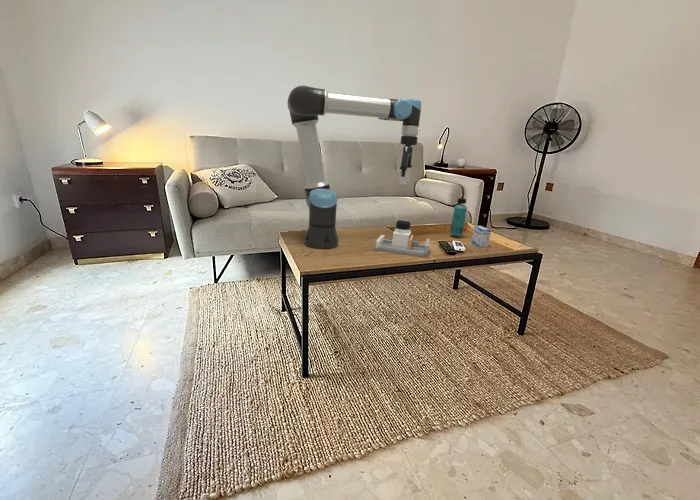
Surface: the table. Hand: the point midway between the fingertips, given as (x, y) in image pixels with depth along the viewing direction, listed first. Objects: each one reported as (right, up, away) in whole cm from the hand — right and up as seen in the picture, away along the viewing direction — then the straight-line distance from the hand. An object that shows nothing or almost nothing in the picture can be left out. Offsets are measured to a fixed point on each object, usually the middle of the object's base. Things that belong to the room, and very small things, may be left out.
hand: (404, 182), depth 165 cm
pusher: (+2, -32, -15) cm, 35 cm away
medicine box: (+37, -30, +3) cm, 48 cm away
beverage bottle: (+29, -26, +14) cm, 41 cm away
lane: (-3, -32, -13) cm, 35 cm away
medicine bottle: (-4, -31, -13) cm, 34 cm away
